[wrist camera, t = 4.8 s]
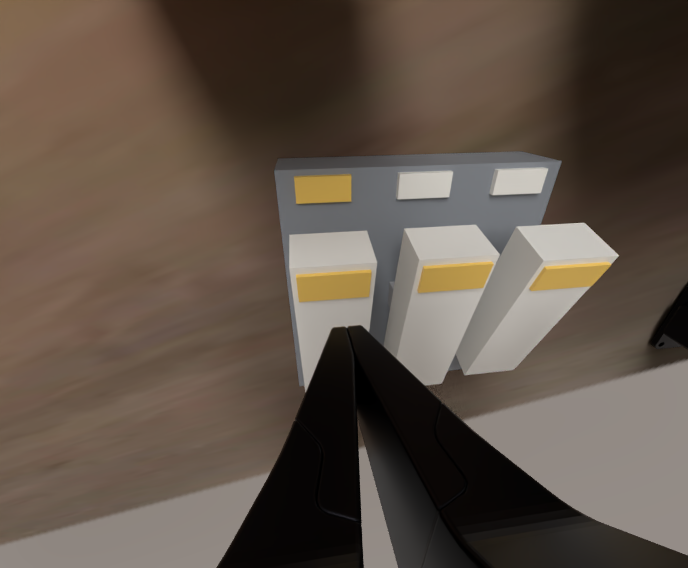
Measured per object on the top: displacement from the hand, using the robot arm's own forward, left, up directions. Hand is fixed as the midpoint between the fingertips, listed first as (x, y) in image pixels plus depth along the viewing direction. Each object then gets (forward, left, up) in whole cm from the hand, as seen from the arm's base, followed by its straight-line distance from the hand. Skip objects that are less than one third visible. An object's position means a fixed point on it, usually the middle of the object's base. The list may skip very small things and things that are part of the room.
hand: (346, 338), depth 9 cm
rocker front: (0, +3, -4) cm, 6 cm away
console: (-4, +3, -10) cm, 11 cm away
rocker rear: (-9, +3, -4) cm, 10 cm away
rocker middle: (-4, +3, -4) cm, 7 cm away
